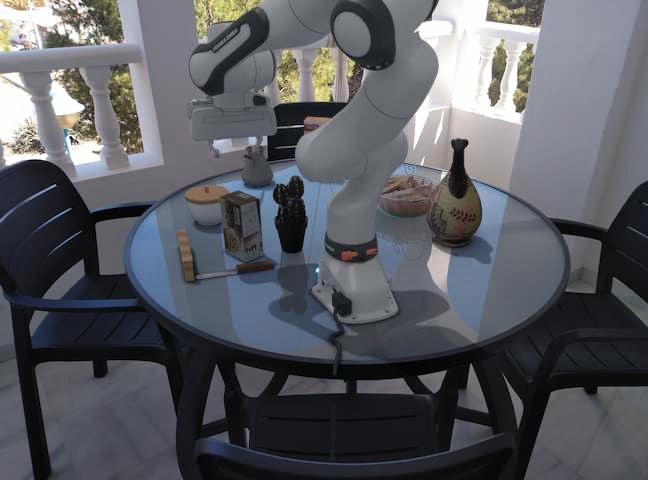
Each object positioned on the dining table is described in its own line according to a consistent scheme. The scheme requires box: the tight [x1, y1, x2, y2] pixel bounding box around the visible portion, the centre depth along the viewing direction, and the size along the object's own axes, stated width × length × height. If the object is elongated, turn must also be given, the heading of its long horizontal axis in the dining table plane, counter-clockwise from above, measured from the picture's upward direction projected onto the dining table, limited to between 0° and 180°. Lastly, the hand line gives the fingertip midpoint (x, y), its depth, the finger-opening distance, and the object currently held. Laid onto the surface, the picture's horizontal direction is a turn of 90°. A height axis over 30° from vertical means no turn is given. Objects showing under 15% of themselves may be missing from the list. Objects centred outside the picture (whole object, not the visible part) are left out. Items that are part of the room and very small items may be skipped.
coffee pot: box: [240, 144, 275, 188], centre depth 182 cm, size 21×12×15 cm, turn 175°
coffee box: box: [219, 190, 264, 263], centre depth 140 cm, size 9×6×16 cm
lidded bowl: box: [184, 184, 230, 227], centre depth 159 cm, size 13×13×11 cm
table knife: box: [195, 259, 274, 281], centre depth 134 cm, size 2×19×2 cm, turn 109°
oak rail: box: [176, 228, 196, 282], centre depth 137 cm, size 18×2×6 cm, turn 19°
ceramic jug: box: [425, 137, 483, 248], centre depth 145 cm, size 17×15×30 cm
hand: (236, 155), depth 131 cm, fingers open, 8 cm apart
